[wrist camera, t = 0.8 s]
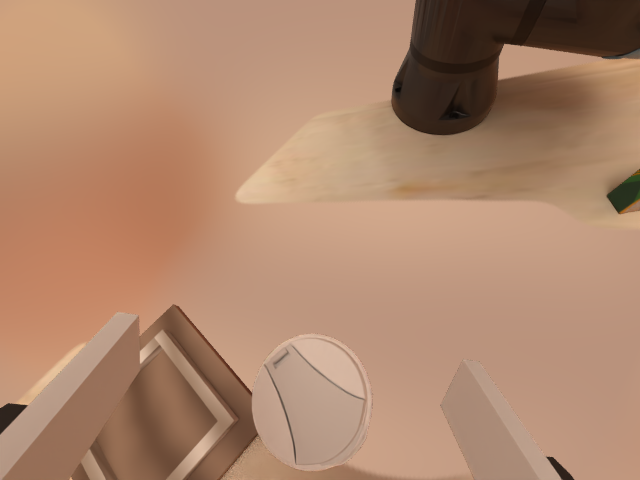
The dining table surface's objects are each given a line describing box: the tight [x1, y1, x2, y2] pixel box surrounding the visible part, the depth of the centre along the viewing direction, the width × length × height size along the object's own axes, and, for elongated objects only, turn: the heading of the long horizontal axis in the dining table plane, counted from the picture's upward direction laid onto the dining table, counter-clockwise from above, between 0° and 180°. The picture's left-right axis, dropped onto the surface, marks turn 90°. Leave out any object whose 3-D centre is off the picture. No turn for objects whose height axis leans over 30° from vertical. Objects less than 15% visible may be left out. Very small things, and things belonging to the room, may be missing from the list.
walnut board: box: [71, 305, 258, 480], centre depth 33 cm, size 18×18×2 cm
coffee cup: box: [252, 334, 372, 471], centre depth 26 cm, size 8×8×15 cm
